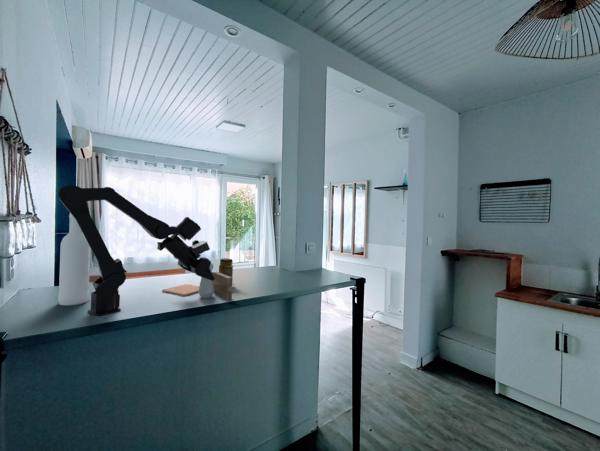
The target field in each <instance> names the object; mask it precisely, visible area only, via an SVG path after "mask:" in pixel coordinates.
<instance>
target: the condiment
mask: <svg viewBox="0 0 600 451" xmlns="http://www.w3.org/2000/svg"><path fill="white" fill-rule="evenodd" d="M233 271H234V265H233V259H232V258H225V257H224V258H220V260H219V266H218V272H219V273H222V274H224V275H227V276H230V277H232V278H233V277H234V276H233V274H234V273H233ZM233 288H234V285H233V286H232V289H233Z"/></svg>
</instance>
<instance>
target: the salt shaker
mask: <svg viewBox="0 0 600 451" xmlns="http://www.w3.org/2000/svg"><path fill="white" fill-rule="evenodd" d="M209 269H210V271H211V273H212V272H213V271H212V270H213V269H214V264H213V263H212V262H211V265H210V267H209ZM197 294H198V295H199V296H200V298H201V299H211V298H212V297H213V295H214V294H215V293H214V284H213V281H212V280H209V279H206V278H203V277H200V282H199V290H198V293H197Z"/></svg>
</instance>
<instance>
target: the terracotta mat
mask: <svg viewBox="0 0 600 451" xmlns="http://www.w3.org/2000/svg"><path fill="white" fill-rule="evenodd" d="M199 286H200V285H199ZM199 286H198V285H194V284H187V283H185V284H181V285H177V286H173V287H168V288H164V289H162V290H161V291H162V293H166V294H171V295H175V296H180V297H187V296H191V295H194V294H199V293H198V290H199Z"/></svg>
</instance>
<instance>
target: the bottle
mask: <svg viewBox="0 0 600 451" xmlns="http://www.w3.org/2000/svg"><path fill="white" fill-rule="evenodd" d="M68 218H69V224H68V225H69V228H68V229H69V231H68V233H67V234H66V235H65V236H63V237H62V240H61V242H60V250H59V253H60V254H59V277H58V278H59V281H58V282H59V283H58V285H59V286H58V296H57V299H58V304H59V305H60V306H66V307H69V306H78V305H81V304H82V305H83V304H85V303H86V304H87V302H88V301H89V296H90V269H91V268H90V267H91V266H90V264H91V263H90V262H91V248H90V246H89V244H88V242H87V240H86V238H85V236H84V235H83V233H82V231H81V229H80V227H79V225H78V223H77V221H76V219H75V218H74V217H73V215H72V214H71V213H70V212H69V215H68Z"/></svg>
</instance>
